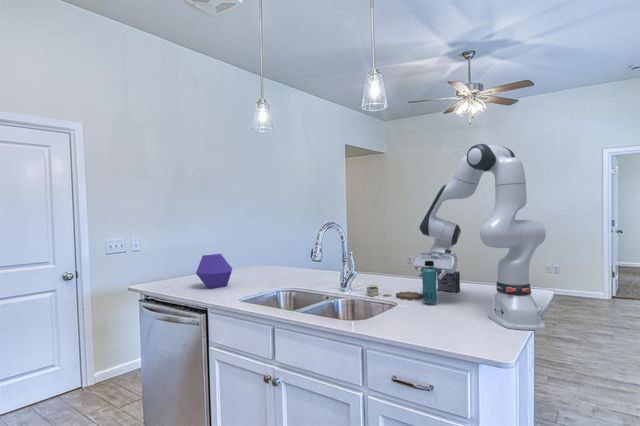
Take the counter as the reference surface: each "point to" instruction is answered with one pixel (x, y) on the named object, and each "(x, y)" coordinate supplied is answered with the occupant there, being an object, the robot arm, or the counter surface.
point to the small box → (449, 282)
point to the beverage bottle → (429, 283)
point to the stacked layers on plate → (372, 290)
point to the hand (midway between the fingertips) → (429, 277)
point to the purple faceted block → (214, 271)
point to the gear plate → (409, 295)
